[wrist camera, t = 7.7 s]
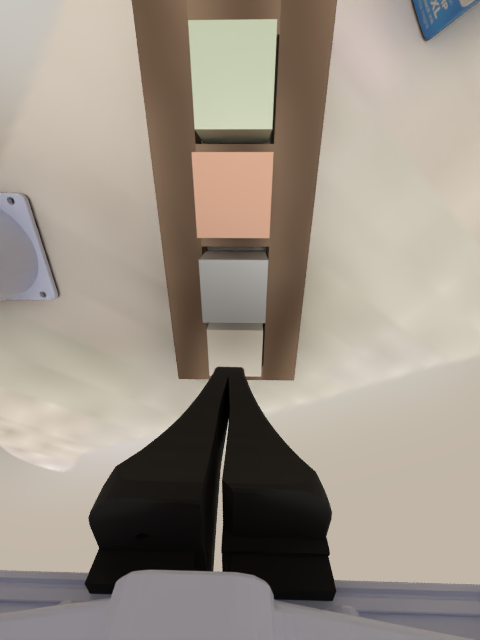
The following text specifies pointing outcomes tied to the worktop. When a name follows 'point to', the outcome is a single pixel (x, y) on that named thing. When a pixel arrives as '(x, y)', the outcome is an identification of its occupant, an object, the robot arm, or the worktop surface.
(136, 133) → the worktop surface
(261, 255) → the grey key
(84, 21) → the worktop surface
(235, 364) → the white key
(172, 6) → the brown wooden long tray
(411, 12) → the worktop surface
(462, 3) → the ink box
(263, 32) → the pale green block
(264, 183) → the terracotta key
